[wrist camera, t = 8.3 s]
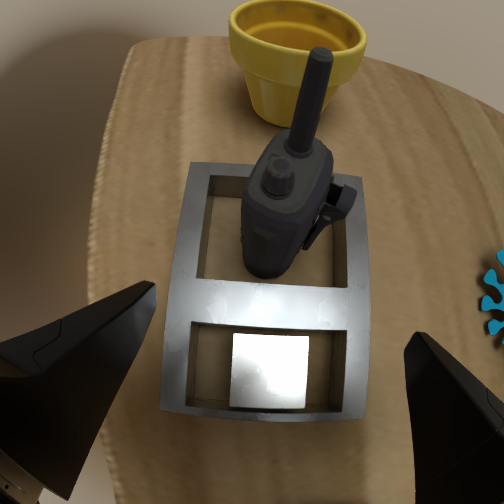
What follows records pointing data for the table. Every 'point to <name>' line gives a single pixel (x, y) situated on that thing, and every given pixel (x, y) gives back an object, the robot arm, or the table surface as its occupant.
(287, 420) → the grey charging dock
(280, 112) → the plant pot
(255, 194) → the two-way radio
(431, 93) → the table surface
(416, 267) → the table surface
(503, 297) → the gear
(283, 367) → the steel block
